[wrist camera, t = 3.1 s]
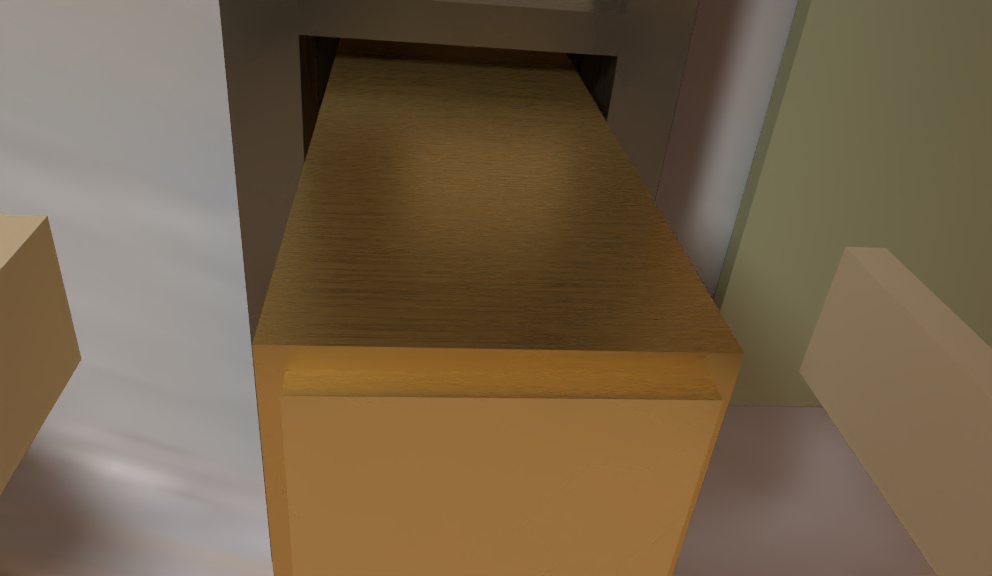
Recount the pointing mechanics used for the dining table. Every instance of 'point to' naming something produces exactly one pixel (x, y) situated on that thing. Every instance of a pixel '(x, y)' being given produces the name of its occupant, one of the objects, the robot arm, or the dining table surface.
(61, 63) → the dining table surface
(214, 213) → the dining table surface
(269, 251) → the grey compartment tray
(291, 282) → the wooden block
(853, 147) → the mat
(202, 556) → the dining table surface
